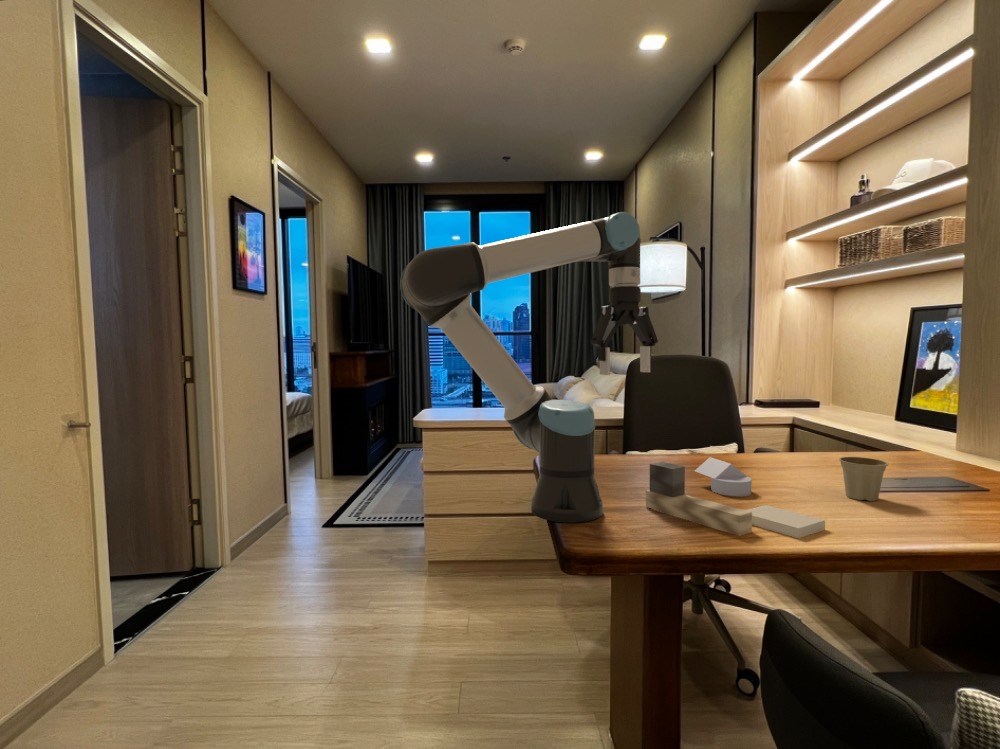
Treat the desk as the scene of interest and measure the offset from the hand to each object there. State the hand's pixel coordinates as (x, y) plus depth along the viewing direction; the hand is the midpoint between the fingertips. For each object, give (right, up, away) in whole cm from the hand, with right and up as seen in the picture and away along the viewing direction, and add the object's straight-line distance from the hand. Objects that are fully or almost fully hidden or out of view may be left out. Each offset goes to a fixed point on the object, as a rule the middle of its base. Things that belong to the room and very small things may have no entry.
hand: (625, 373), depth 132 cm
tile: (+21, -29, -22) cm, 42 cm away
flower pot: (+53, -29, -9) cm, 60 cm away
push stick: (+9, -30, -23) cm, 39 cm away
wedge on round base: (+25, -29, 0) cm, 38 cm away
